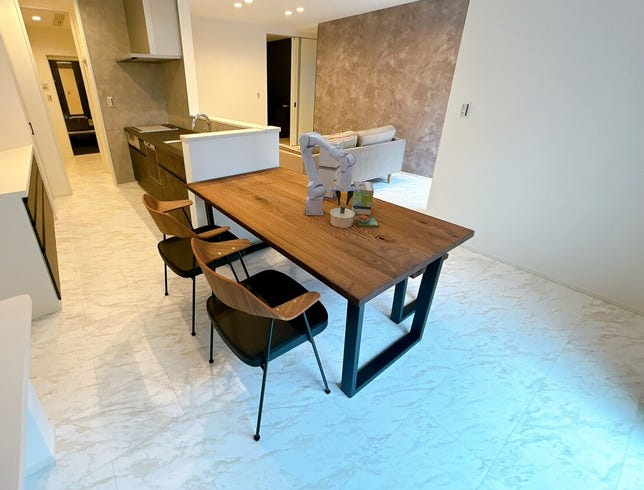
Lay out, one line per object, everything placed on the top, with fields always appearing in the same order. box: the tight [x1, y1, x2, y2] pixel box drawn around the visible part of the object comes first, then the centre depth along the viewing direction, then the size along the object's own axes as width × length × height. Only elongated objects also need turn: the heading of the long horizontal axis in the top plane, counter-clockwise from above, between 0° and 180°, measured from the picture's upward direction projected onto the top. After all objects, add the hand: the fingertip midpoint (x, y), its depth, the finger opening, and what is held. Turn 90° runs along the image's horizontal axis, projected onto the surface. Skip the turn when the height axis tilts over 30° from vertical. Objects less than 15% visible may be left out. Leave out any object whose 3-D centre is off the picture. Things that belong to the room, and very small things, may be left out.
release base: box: [355, 215, 379, 228], centre depth 154 cm, size 10×8×3 cm
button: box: [359, 214, 368, 220], centre depth 153 cm, size 3×3×2 cm
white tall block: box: [318, 138, 345, 202], centre depth 182 cm, size 11×11×35 cm
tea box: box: [351, 180, 375, 216], centre depth 167 cm, size 15×10×15 cm
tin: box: [329, 214, 354, 229], centre depth 154 cm, size 11×11×5 cm
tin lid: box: [329, 205, 356, 219], centre depth 152 cm, size 12×12×4 cm
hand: (343, 204), depth 151 cm, fingers open, 3 cm apart
